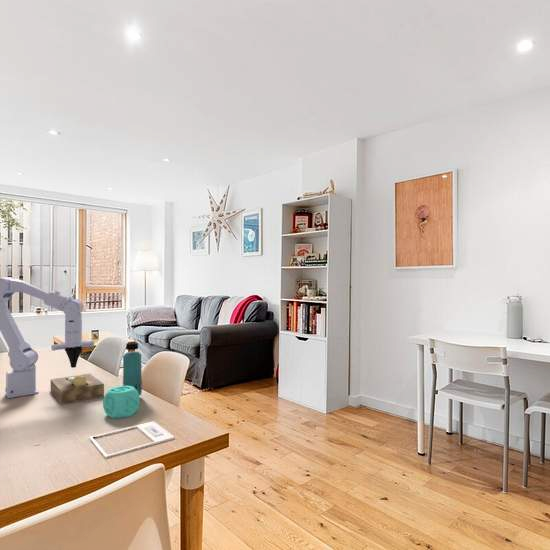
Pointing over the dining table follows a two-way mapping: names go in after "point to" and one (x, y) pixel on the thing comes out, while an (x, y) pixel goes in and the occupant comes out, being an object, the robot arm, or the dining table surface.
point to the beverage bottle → (132, 368)
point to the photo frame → (148, 429)
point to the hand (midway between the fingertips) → (73, 367)
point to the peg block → (76, 389)
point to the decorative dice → (121, 401)
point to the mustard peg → (79, 381)
